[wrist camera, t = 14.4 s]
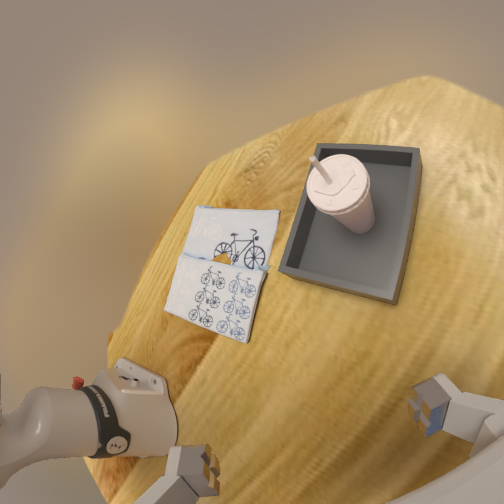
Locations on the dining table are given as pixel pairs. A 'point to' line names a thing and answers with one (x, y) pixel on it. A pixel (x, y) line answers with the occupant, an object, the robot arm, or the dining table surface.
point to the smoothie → (342, 191)
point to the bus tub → (367, 244)
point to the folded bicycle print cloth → (223, 269)
